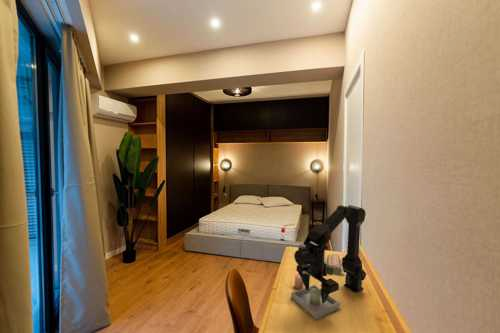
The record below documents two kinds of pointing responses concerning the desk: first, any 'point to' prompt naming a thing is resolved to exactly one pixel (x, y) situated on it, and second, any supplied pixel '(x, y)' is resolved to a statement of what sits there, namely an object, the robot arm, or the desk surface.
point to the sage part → (314, 296)
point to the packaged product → (335, 264)
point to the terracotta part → (298, 282)
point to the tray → (314, 310)
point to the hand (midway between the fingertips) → (315, 296)
